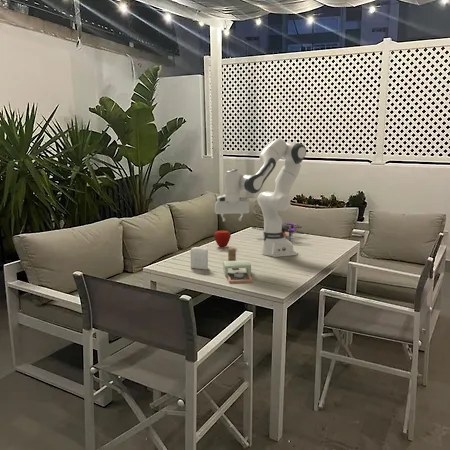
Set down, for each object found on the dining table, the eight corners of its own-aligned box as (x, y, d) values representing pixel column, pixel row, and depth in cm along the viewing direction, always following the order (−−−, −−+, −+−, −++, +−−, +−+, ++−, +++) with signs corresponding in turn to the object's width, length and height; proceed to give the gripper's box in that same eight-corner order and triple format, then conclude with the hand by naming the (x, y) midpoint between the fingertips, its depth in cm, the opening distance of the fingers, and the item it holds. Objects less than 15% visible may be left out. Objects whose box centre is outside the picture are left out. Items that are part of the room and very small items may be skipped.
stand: (248, 269, 255) (248, 260, 254) (251, 275, 245) (251, 265, 244) (223, 270, 253) (223, 261, 252) (225, 276, 244) (225, 266, 243)
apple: (233, 247, 304) (233, 229, 301) (220, 249, 298) (219, 232, 296) (224, 244, 313) (224, 227, 310) (211, 246, 307) (211, 229, 305)
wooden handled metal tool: (228, 260, 273) (228, 247, 272) (234, 260, 274) (234, 247, 272) (232, 269, 256) (231, 255, 254) (239, 269, 256) (239, 255, 255)
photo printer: (209, 268, 259) (208, 247, 257) (206, 270, 255) (205, 249, 253) (192, 266, 263) (192, 245, 260) (189, 268, 259) (189, 247, 256)
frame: (249, 276, 244) (249, 274, 243) (252, 282, 234) (252, 280, 234) (227, 277, 242) (227, 275, 242) (229, 283, 233) (229, 281, 233)
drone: (249, 225, 327) (265, 218, 351) (249, 238, 329) (265, 231, 353) (302, 231, 308) (315, 223, 332) (301, 244, 310) (315, 236, 334)
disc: (243, 276, 244) (243, 272, 244) (244, 279, 239) (244, 275, 239) (233, 276, 244) (233, 272, 243) (234, 279, 239) (234, 275, 238)
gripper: (248, 196, 266) (248, 219, 269) (214, 197, 264) (214, 220, 267) (250, 197, 260) (250, 221, 263) (215, 198, 258) (215, 222, 260)
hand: (232, 221), depth 265 cm, fingers open, 8 cm apart
